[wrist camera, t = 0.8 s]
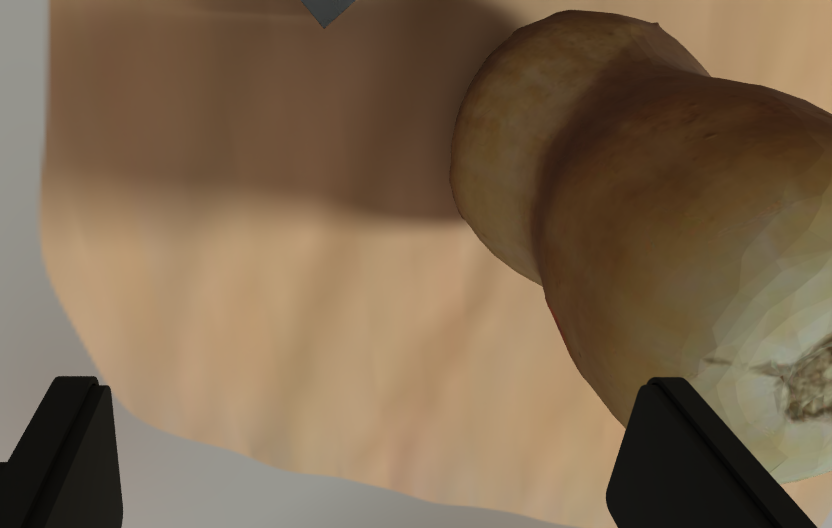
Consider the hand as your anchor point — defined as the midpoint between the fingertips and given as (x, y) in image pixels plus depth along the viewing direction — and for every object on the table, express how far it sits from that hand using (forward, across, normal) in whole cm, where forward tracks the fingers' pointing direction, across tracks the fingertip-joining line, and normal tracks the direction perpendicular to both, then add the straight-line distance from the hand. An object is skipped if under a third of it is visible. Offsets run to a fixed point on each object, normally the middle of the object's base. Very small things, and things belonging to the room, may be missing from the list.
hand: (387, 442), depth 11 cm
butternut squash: (+28, -13, 0) cm, 31 cm away
